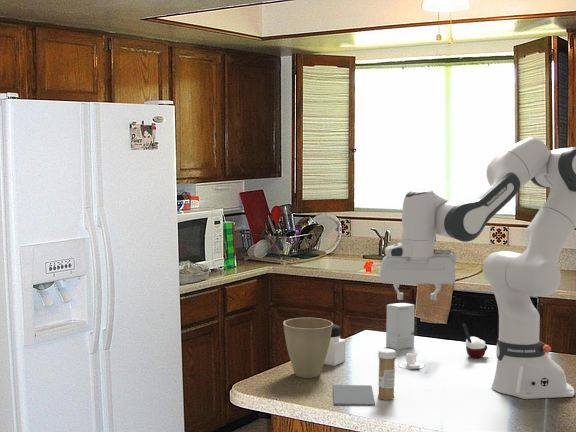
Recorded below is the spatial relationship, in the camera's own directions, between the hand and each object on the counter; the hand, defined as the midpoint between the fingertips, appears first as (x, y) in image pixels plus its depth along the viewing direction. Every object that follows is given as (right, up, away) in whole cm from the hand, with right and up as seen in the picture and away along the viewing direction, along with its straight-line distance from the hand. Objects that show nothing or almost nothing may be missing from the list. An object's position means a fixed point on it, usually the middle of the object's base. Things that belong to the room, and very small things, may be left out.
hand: (416, 299), depth 229 cm
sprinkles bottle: (-8, -28, +3) cm, 29 cm away
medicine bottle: (-21, -24, +40) cm, 51 cm away
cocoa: (+26, -24, +46) cm, 58 cm away
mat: (-17, -27, +4) cm, 32 cm away
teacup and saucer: (+1, -25, +34) cm, 42 cm away
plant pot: (-29, -25, +25) cm, 46 cm away
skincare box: (+3, -22, +60) cm, 64 cm away
